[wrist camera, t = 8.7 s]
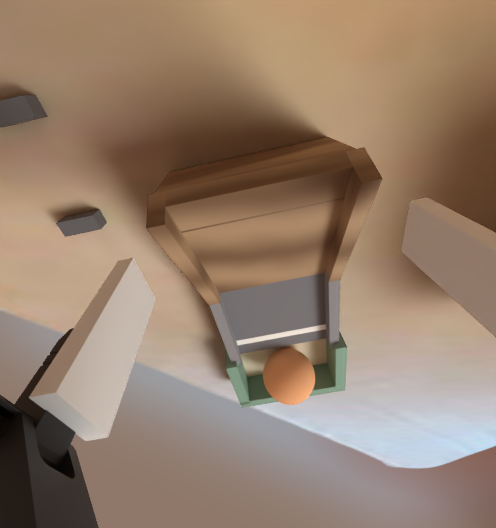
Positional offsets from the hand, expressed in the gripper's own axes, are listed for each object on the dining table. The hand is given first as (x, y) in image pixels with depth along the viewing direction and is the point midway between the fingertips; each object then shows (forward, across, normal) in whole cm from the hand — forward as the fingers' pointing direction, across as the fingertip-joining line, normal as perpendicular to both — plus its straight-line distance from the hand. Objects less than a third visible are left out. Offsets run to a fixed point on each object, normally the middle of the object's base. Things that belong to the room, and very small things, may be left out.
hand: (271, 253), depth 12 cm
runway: (+10, 0, -13) cm, 16 cm away
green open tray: (+10, 0, -22) cm, 24 cm away
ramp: (+10, 0, -3) cm, 10 cm away
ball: (+7, 0, -21) cm, 22 cm away
